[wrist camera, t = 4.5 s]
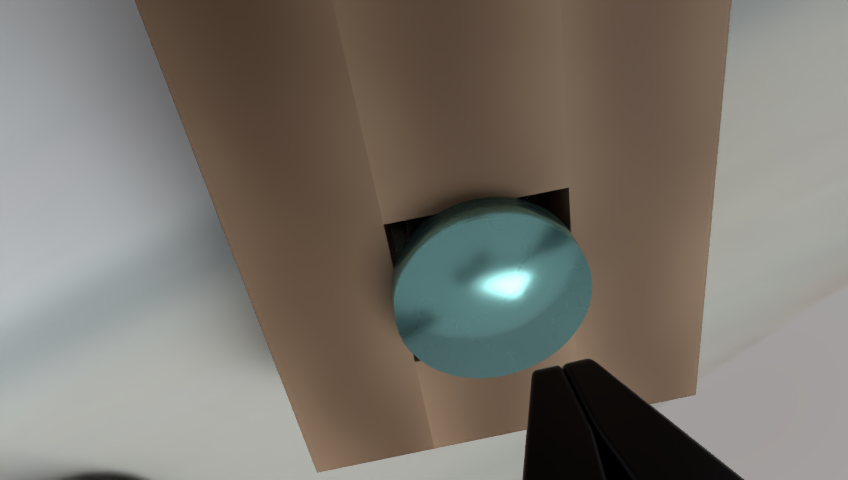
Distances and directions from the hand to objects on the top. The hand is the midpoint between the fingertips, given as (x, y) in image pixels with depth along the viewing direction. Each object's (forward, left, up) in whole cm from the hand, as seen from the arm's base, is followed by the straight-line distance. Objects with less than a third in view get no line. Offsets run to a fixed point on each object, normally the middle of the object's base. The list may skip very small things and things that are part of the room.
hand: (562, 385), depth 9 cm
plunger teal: (0, +4, -12) cm, 12 cm away
